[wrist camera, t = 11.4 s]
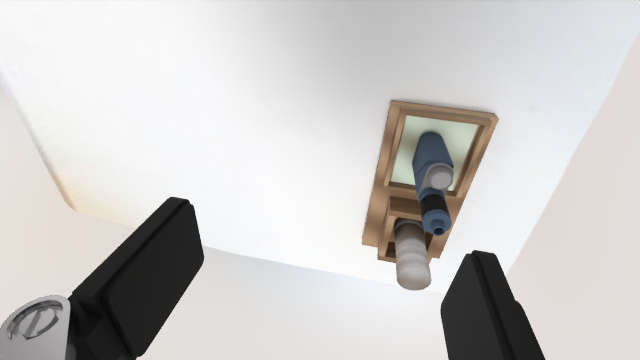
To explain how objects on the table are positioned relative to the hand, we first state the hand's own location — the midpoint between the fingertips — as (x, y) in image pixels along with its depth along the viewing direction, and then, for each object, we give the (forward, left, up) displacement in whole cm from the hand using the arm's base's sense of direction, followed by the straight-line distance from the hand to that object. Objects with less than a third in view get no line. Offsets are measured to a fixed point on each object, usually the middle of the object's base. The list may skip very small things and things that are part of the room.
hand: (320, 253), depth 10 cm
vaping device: (+7, +8, -25) cm, 27 cm away
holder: (+13, +9, -26) cm, 31 cm away
